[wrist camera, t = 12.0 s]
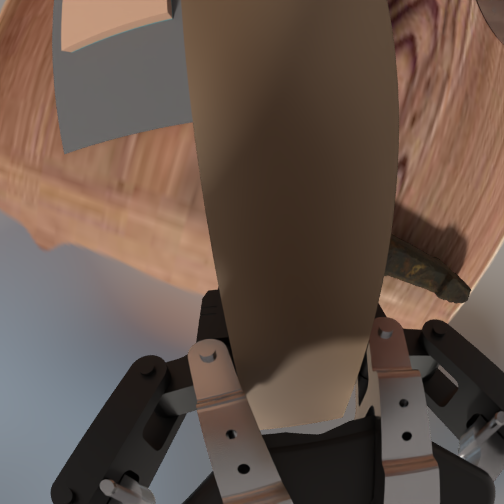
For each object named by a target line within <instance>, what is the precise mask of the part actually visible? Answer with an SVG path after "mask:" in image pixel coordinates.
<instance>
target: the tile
mask: <svg viewBox="0 0 504 504" xmlns="http://www.w3.org/2000/svg"><path fill="white" fill-rule="evenodd" d="M171 19H173V12H172V0H63V2H62V21H61V51H67V52H72V53H73V52H75V51H77V50H80V49H82V48H84V47H86V46H89V45H91V44H94V43H96V42H99V41H101V40H104V39H107V38H109V37H112V36H115V35H118V34H121V33H124V32H127V31H130V30H133V29H136V28H140V27H143V26H147V25H151V24H154V23H158V22H162V21H167V20H171Z"/></svg>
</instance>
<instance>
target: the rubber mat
mask: <svg viewBox="0 0 504 504" xmlns="http://www.w3.org/2000/svg"><path fill="white" fill-rule="evenodd" d="M62 2H63V0H54V10H53V33H52V49H53V74H54V87H55V97H56V106H57V113H58V120H59V127H60V133H61V139H62V144H63V149H64V154H66V153H69V152H72V151H75V150H78V149H81V148H85V147H88V146H91V145H94V144H98V143H101V142H105V141H108V140H112V139H116V138H119V137H123V136H127V135H131V134H135V133H140V132H144V131H149V130H153V129H158V128H163V127H168V126H173V125H179V124H185V123H191V122H193V120H192V112H191V104H190V95H189V86H188V77H187V67H186V57H185V46H184V34H183V21H182V7H181V0H172V12H173V19H171V20H167V21H162V22H158V23H154V24H151V25H147V26H143V27H140V28H136V29H133V30H130V31H127V32H124V33H121V34H118V35H115V36H112V37H109V38H107V39H104V40H101V41H99V42H96V43H94V44H91V45H89V46H86V47H84V48H82V49H80V50H77V51H75V52H73V53H72V52H67V51H61V21H62Z"/></svg>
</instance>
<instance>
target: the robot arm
mask: <svg viewBox="0 0 504 504" xmlns="http://www.w3.org/2000/svg"><path fill="white" fill-rule="evenodd" d="M477 1H478V4H479V7H480V9H481V11H482V13H483V15H484V17H485V19H486V21H487V23H488V24H489V26H490V28H491V29H492V31H493V32H494V33H495V35H496V36H497V38H498V39H499V40H500V41H501V42H502V43H503V44H504V0H477ZM439 365H441V366H442V367H443V368H444V369H445V370H446V371H447V372H448V373H449V374H450V375H451V376H452V377H453V378H454V379H455V380H456V381H457V382H458V386H459V387H457V386H456V385H455V384H453V383H452V382H451V381H450V380H449V379H448V378H447V377H446V376H445V375H444V374H443V373H442V372H441V371H440V370H439V369H438V366H439ZM355 385H356V413H355V418H354V420H352V421H349V422H347V423H345V424H343V425H341V426H338V427H336V428H334V429H332V430H330V431H327V432H325V433H323V434H319V435H316V434H299V433H287V432H285V433H277V434H266V435H262V434H261V432H260V430H259V427H258V425H257V422H256V420H255V417H254V415H253V412H252V410H251V407H250V405H249V402H248V399H247V397H246V395H245V393H244V392H243V390H242V388H241V385H240V383H239V380H238V377H237V372H236V368H235V363H234V359H233V354H232V349H231V345H230V340H229V335H228V330H227V326H226V321H225V316H224V311H223V306H222V301H221V295H220V290H219V286H218V290H209V291H208V292H207V293H206V294H205V296H204V297H203V299H202V305H201V312H200V319H199V326H198V334H197V341H196V343H195V344H194V345H193V346H192V347H191V348H190V350H189V352H188V354H187V355H186V356H184V357H182V358H179V359H177V360H173V361H169V362H166V363H165V361H164V360H163V359H162V358H160V357H158V356H154V355H148V356H144V357H141V358H139V359H138V360H136V361H135V362H134V363H133V364H132V366H131V367H130V369H129V370H128V372H127V373H126V374H125V376H124V377H123V379H122V380H121V381H120V383H119V384H118V386H117V387H116V389H115V390H114V392H113V393H112V394H111V396H110V397H109V399H108V400H107V402H106V403H105V405H104V406H103V408H102V409H101V411H100V412H99V414H98V415H97V417H96V418H95V420H94V421H93V423H92V424H91V426H90V427H89V429H88V430H87V432H86V433H85V435H84V436H83V438H82V439H81V441H80V442H79V444H78V445H77V447H76V448H75V450H74V452H73V453H72V455H71V456H70V458H69V459H68V461H67V462H66V464H65V466H64V467H63V469H62V470H61V472H60V474H59V475H58V477H57V478H56V480H55V482H54V483H53V485H52V488H51V498H52V502H53V504H155V503H156V502H155V497H154V495H153V493H152V492H151V490H150V489H148V487H149V486H150V484H151V482H152V480H153V478H154V476H155V474H156V472H157V470H158V468H159V466H160V464H161V462H162V461H163V459H164V457H165V455H166V453H167V451H168V449H169V447H170V445H171V443H172V441H173V439H174V437H175V435H176V433H177V431H178V429H179V428H180V425H181V423H182V422H183V420H184V418H185V416H186V414H187V413H188V412H192V411H195V410H197V413H198V417H199V421H200V425H201V429H202V433H203V437H204V440H205V444H206V448H207V452H208V455H209V459H210V462H211V465H212V469H213V471H212V472H211V474H210V475H209V476H208V477H207V478H206V479H205V480H204V481H203V482H202V483H201V484H200V486H199V487H198V488H197V489H196V490H195V491H194V492H193V493H192V494H191V495H190V496H189V497H188V498H187V499H186V500H185V501H184V502H183V503H182V504H494V500H495V486H494V481H495V480H496V478H497V477H498V476H499V475H500V473H501V472H502V470H503V469H504V373H503V371H501V370H500V369H499V368H498V367H497V366H496V365H495V364H494V363H493V362H491V361H490V360H489V359H488V358H487V357H486V356H485V355H484V354H483V353H481V352H480V351H479V350H478V349H477V348H476V347H474V346H473V345H472V344H471V343H470V342H468V341H467V340H466V339H465V338H464V337H463V336H462V335H460V334H459V333H458V332H457V331H456V330H454V329H453V328H452V327H451V326H449V325H448V324H447V323H445V322H444V321H441V320H429V321H427V322H426V323H425V324H424V325H423V328H422V330H415V329H403V328H402V326H401V325H400V324H399V323H398V322H397V321H396V320H394V319H392V318H388V317H386V315H385V313H384V312H383V310H382V308H381V307H380V305H379V303H378V306H377V310H376V314H375V318H374V322H373V326H372V330H371V333H370V337H369V341H368V344H367V348H366V351H365V354H364V358H363V361H362V364H361V367H360V370H359V374H358V377H357V380H356V382H355ZM427 406H428V407H429V408H430V409H431V410H432V411H433V412H434V413H435V415H436V416H437V417H438V418H439V419H440V420H441V421H442V422H443V423H444V424H445V425H446V426H447V427H448V428H449V430H450V431H451V432H452V433H453V434H454V435H455V436H456V437H457V438H458V439H459V448H458V455H459V456H460V457H459V456H457V455H455V454H453V453H451V452H450V451H448V450H446V449H444V448H443V447H441V446H439V445H437V444H436V443H434V442H432V441H431V435H430V434H431V433H430V425H429V418H428V411H427ZM461 457H464V458H465V460H464V459H462V458H461Z"/></svg>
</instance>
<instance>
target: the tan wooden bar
mask: <svg viewBox="0 0 504 504" xmlns="http://www.w3.org/2000/svg"><path fill="white" fill-rule="evenodd" d="M181 7H182V21H183V34H184V46H185V57H186V67H187V77H188V86H189V95H190V104H191V112H192V120H193V128H194V136H195V143H196V151H197V158H198V165H199V172H200V179H201V185H202V192H203V198H204V205H205V211H206V217H207V223H208V229H209V235H210V241H211V247H212V252H213V258H214V263H215V269H216V274H217V280H218V285H219V290H220V295H221V301H222V306H223V311H224V316H225V321H226V326H227V330H228V335H229V340H230V345H231V349H232V354H233V359H234V363H235V368H236V372H237V377H238V380H239V383H240V385H241V388H242V390H243V392H244V393H245V395H246V397H247V399H248V402H249V405H250V407H251V410H252V412H253V415H254V417H255V420H256V422H257V425H258V427H259V430H264V429H273V428H283V427H290V426H298V425H304V424H311V423H317V422H322V421H328V420H333V419H337V418H342V417H343V415H344V413H345V410H346V407H347V405H348V402H349V399H350V396H351V393H352V391H353V388H354V385H355V382H356V380H357V377H358V374H359V370H360V367H361V364H362V361H363V358H364V354H365V351H366V348H367V344H368V341H369V337H370V333H371V330H372V326H373V322H374V318H375V314H376V310H377V306H378V301H379V297H380V292H381V288H382V283H383V278H384V273H385V267H386V262H387V256H388V250H389V244H390V237H391V230H392V223H393V215H394V206H395V196H396V184H397V170H398V149H399V101H398V80H397V67H396V56H395V47H394V39H393V32H392V25H391V19H390V13H389V8H388V3H387V0H181Z"/></svg>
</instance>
